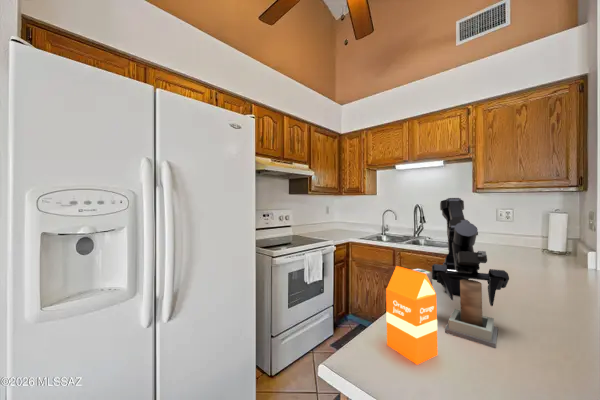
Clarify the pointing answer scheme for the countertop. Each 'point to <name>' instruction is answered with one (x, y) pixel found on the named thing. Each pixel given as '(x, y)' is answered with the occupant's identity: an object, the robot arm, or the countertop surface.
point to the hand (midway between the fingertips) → (471, 302)
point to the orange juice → (411, 315)
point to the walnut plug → (471, 302)
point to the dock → (473, 329)
